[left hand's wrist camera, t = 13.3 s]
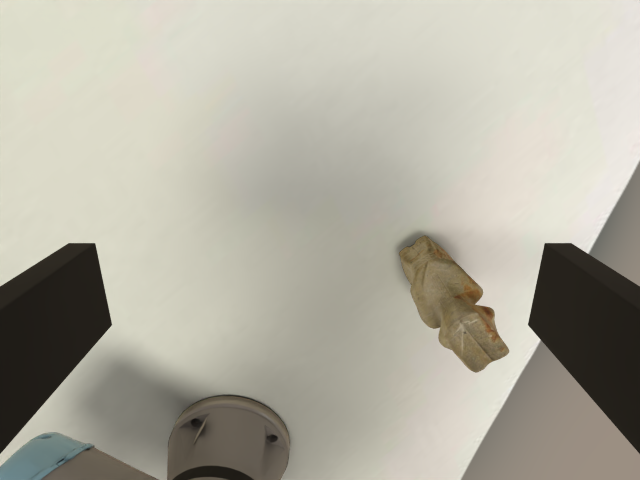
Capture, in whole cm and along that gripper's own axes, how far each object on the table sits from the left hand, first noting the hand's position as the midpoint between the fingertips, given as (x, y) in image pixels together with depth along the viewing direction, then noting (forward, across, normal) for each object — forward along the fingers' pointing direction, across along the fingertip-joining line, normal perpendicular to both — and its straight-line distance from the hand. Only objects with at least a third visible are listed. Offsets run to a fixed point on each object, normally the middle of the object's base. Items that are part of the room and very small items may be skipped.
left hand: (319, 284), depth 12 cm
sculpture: (+30, -12, +12) cm, 35 cm away
